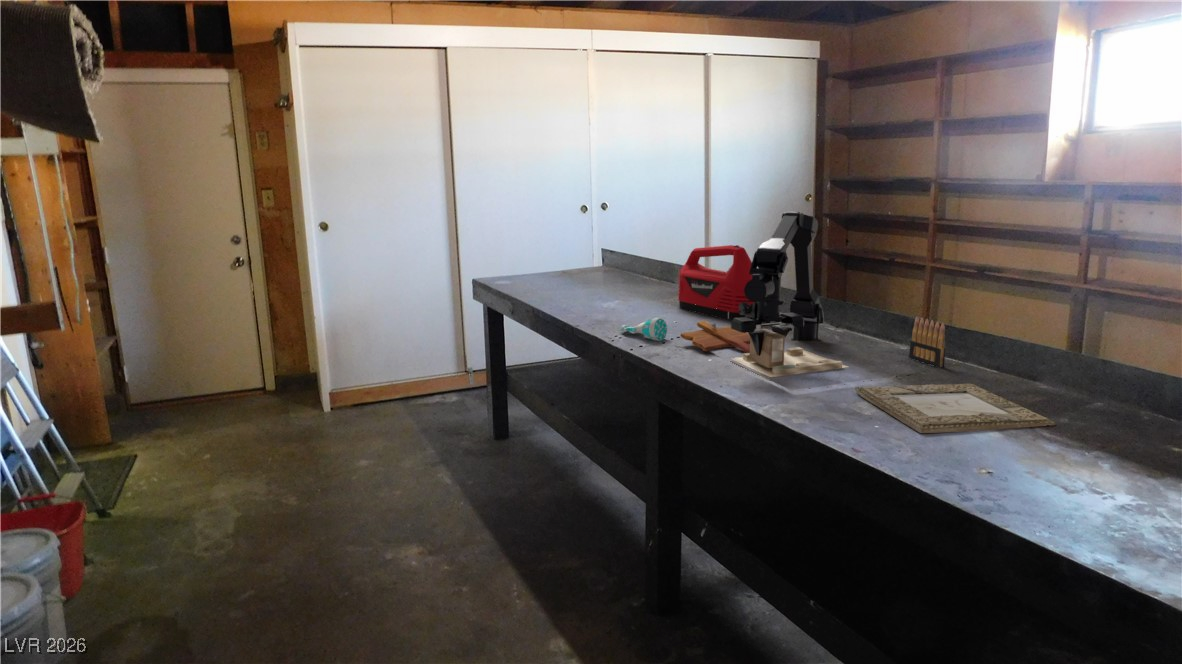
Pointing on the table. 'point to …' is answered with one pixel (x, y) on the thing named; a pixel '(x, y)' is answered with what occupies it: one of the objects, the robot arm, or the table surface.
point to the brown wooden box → (769, 350)
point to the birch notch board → (792, 363)
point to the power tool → (715, 283)
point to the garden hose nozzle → (650, 329)
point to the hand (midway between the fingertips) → (766, 354)
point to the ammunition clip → (928, 343)
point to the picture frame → (950, 408)
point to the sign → (717, 337)
